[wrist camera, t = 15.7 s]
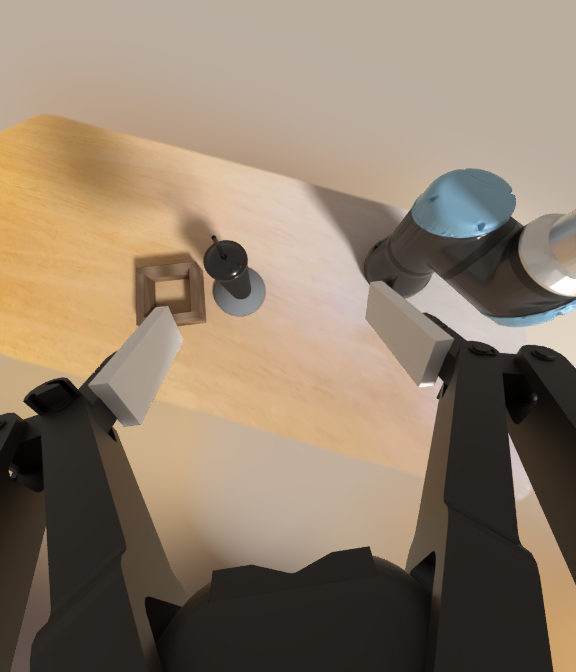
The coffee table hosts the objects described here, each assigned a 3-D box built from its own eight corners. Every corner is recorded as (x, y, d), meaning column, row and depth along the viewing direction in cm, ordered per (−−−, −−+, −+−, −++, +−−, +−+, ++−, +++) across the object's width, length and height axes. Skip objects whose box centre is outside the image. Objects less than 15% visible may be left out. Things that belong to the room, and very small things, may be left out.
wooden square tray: (202, 270, 53) (195, 261, 49) (206, 322, 51) (198, 317, 47) (148, 277, 53) (136, 268, 49) (149, 329, 51) (136, 325, 46)
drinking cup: (233, 311, 51) (200, 270, 31) (219, 283, 52) (178, 227, 32) (263, 296, 52) (248, 247, 32) (248, 269, 53) (226, 206, 33)
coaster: (262, 266, 54) (262, 264, 53) (268, 313, 52) (267, 312, 51) (213, 271, 53) (212, 270, 53) (216, 319, 51) (215, 318, 50)
